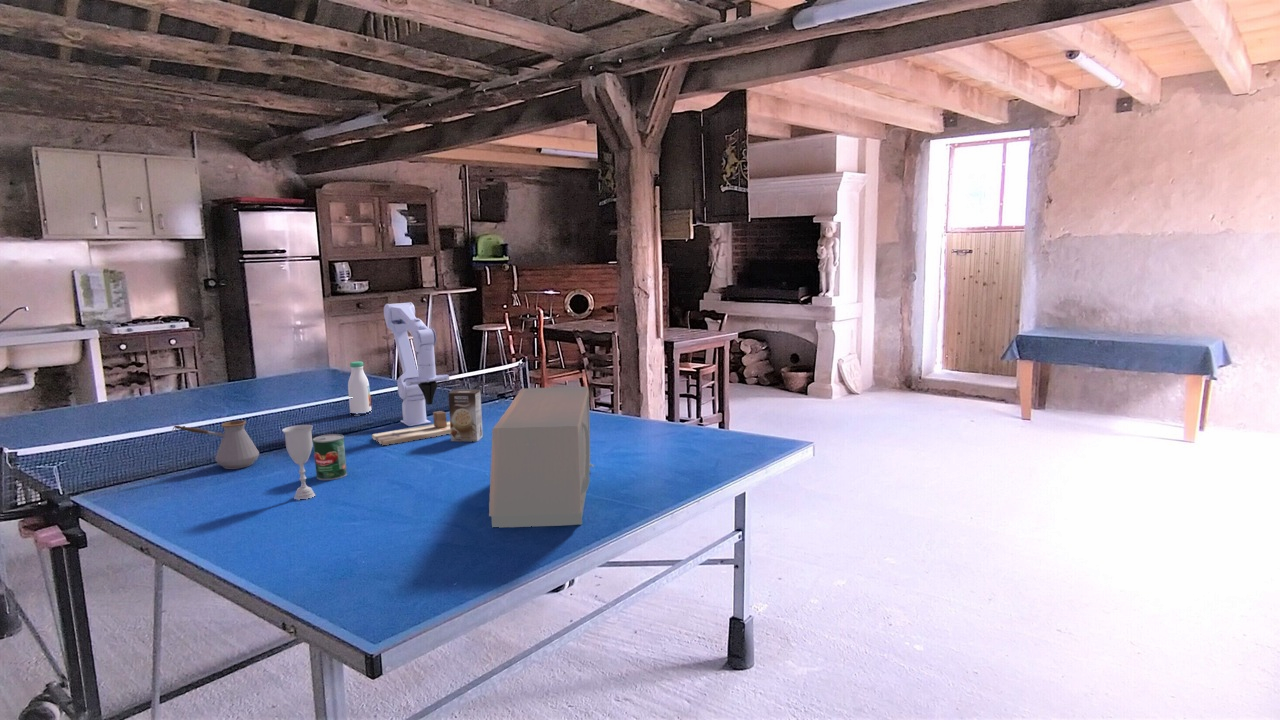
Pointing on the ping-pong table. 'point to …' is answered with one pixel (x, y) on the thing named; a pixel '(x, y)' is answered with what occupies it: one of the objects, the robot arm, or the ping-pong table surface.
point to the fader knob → (439, 419)
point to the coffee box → (465, 415)
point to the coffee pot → (232, 445)
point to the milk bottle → (358, 389)
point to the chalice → (300, 454)
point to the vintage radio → (541, 459)
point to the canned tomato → (330, 457)
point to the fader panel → (411, 434)
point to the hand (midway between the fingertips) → (429, 403)
